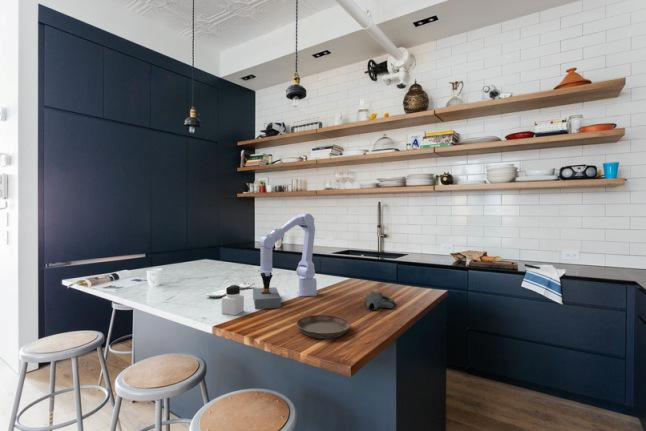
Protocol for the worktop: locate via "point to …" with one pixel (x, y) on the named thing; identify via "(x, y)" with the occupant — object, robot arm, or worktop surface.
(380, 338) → the worktop surface
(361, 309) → the worktop surface
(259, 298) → the hole block
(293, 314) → the worktop surface
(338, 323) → the plant saucer
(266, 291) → the peg
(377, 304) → the grey tapered shape
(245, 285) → the spoon
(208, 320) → the worktop surface
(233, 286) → the medicine bottle
